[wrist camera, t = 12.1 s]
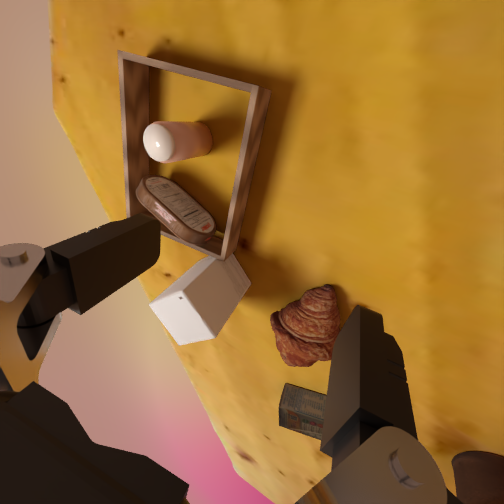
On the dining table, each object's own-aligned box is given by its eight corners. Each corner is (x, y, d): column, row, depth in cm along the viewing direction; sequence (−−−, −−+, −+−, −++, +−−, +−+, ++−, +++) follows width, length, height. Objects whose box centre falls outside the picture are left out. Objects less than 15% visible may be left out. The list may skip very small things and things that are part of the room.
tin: (158, 181, 46) (122, 191, 39) (164, 167, 44) (128, 176, 38) (218, 235, 47) (193, 255, 40) (226, 224, 45) (201, 242, 38)
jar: (187, 118, 39) (140, 116, 31) (214, 126, 38) (174, 127, 30) (184, 151, 41) (141, 157, 33) (210, 159, 40) (172, 168, 32)
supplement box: (197, 260, 51) (145, 303, 39) (229, 245, 47) (181, 289, 34) (220, 295, 53) (177, 347, 41) (253, 284, 49) (216, 339, 36)
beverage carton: (368, 429, 55) (368, 463, 49) (283, 401, 62) (276, 428, 56) (373, 407, 51) (375, 441, 46) (284, 380, 58) (275, 406, 53)
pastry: (362, 355, 47) (362, 394, 40) (289, 358, 54) (279, 391, 48) (333, 281, 42) (327, 310, 36) (257, 295, 50) (241, 322, 43)
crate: (144, 58, 37) (117, 49, 33) (271, 90, 33) (258, 85, 29) (146, 211, 51) (126, 219, 47) (236, 249, 46) (224, 261, 42)
